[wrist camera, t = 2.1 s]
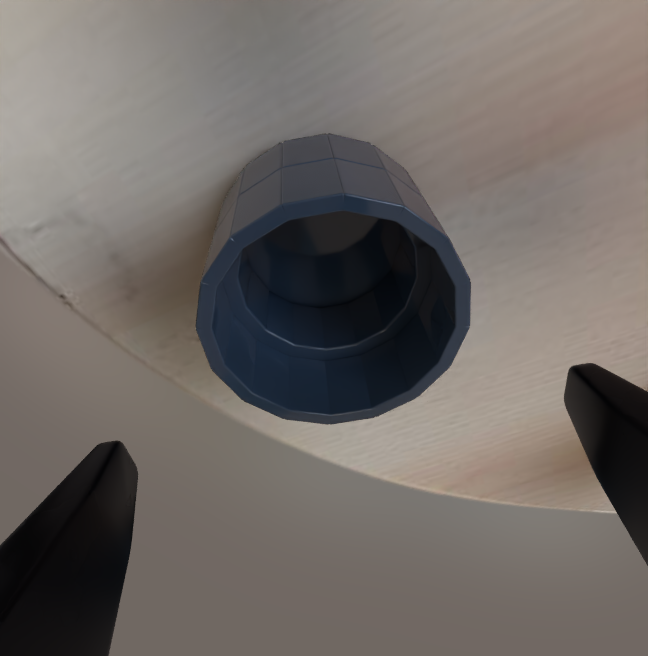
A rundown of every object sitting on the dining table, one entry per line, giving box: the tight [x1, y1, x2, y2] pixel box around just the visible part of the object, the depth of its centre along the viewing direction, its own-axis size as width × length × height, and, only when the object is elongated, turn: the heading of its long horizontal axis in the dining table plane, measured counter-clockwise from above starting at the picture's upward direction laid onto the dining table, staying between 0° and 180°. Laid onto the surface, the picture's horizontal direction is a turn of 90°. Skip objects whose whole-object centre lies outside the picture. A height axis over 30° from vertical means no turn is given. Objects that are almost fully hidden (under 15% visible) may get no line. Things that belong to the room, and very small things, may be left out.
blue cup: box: [196, 133, 471, 424], centre depth 15 cm, size 7×7×6 cm
